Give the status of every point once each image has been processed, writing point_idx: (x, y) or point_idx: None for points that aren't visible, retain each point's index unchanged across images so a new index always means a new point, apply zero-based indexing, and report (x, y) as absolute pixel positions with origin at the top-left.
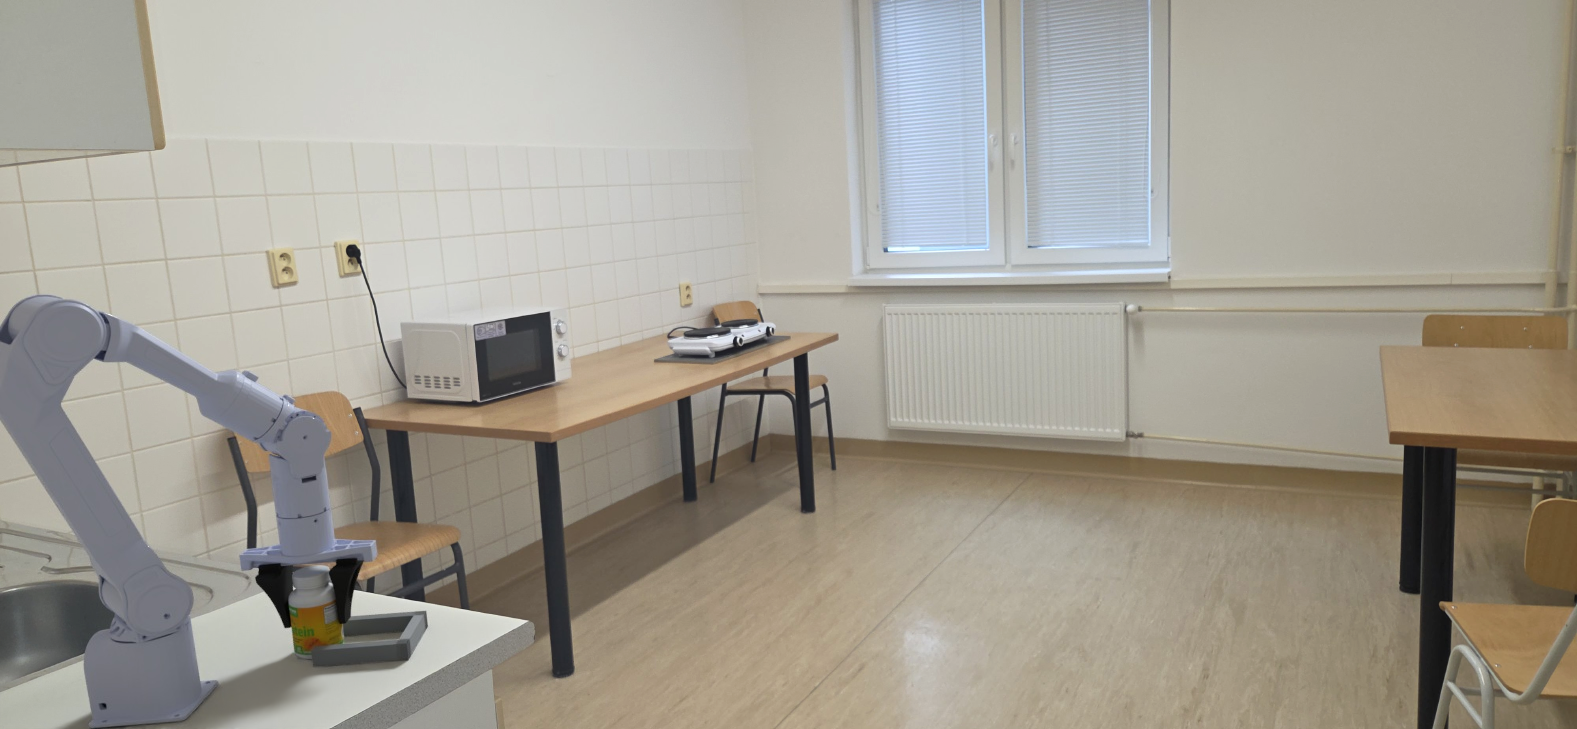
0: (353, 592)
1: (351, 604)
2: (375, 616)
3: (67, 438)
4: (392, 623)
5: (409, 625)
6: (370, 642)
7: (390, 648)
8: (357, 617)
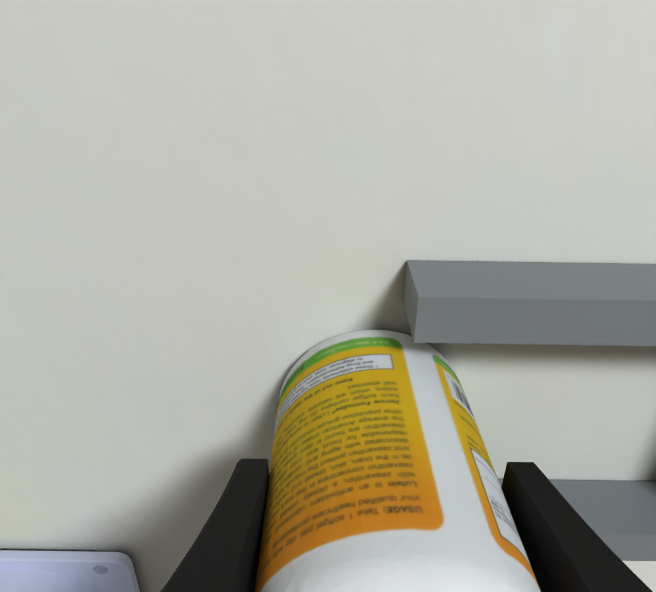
0: (625, 566)
1: (572, 508)
2: (621, 323)
3: None
4: None
5: None
6: (602, 538)
7: None
8: (527, 318)
